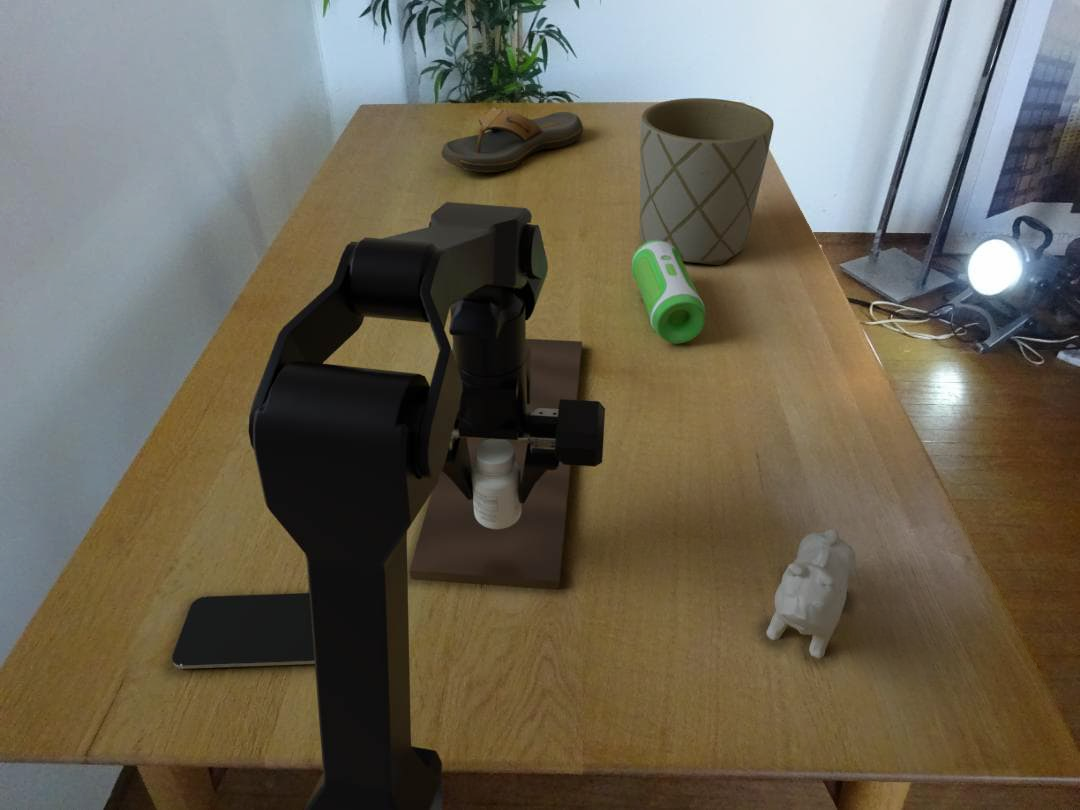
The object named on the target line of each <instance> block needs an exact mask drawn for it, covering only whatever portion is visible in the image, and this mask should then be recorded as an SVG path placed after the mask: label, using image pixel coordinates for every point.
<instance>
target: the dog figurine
mask: <svg viewBox="0 0 1080 810" xmlns="http://www.w3.org/2000/svg"><path fill="white" fill-rule="evenodd" d="M856 568H857V556H856V553H855V550H854V548H852V546H851V545H850V544H849V543H848V542H846V541H845V540H843V539H841V538H840V535H839V530H837V529H836V528H830V529H827V530H826V531H823V532H822V531H817V532H810V533H809V534H807V535H806V536H804V537H803V539H802V540H801V541H800V544H799V546H798V550H797V553H796V559H795V560H794V561H793V563H789V565H787V568H786V570H785V571H784V573H783V575H782V578H781V583H780V584H779V585H778V587H777V589H776V592H775V594H774V608H775V612H774V614H773V616H772V618H771V620H770V623H769V625H768V627H767V629H766V636H767V637H768V638H769V639H770V640H772V641H778V640H779V639H781V637H782V635H783V633H784V632H785V631H786V630H787V628H788V626H790V627H792V628H793V629H795V630H797V631H798V633H799V634H800V635H804V636H807V635H809V636H812V639H811V641H810V644H809V649H808V651H809V655H810V656H812V657H813V658H816V659H821V658H823V657H824V656H825V652H826V649H827V647H828V644H829V642H830V641H829V640H830V639H831V637H832V636H833V633H834V632H835V629H836V628H837V625H838V623H839V621H840V619H841V617H842V613H843V609H844V607H845V603H846V600H847V592H848V589H849V585H850V582H851V579H852V578H853V577H854V575H855V573H856V571H857V570H856Z"/></svg>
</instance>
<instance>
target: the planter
mask: <svg viewBox="0 0 1080 810" xmlns="http://www.w3.org/2000/svg"><path fill="white" fill-rule="evenodd" d="M774 126H775V123H774V119H773V118H772V117H771V116H770V115H769V114H768V113H767V112H765V111H764V110H761V109H760V108H758V107H755V106H753V105H749V104H746V103H743V102H738V101H734V100H729V99H720V98H710V97H709V98H707V97H687V98H677V99H671V100H665V101H661V102H658V103H656V104H653V105H651V106H649V107H648V108H646V109H645V110H644V111H643V112H642V114H641V117H640V149H639V151H640V153H639V154H640V156H639V158H640V159H639V160H640V161H639V165H640V166H639V177H640V178H639V238H640V240H641V242H642V244H644V243H646V242H648V241H651V240H662V241H665V242H667V243H669V244H671V245H672V246H674V247H675V248H676V249H677V250H678V252H679V253H680V255H681V258H682V262H683V263H684V262H686V263H693V264H702V265H703V264H705V265H715V266H722V265H725V263H726V262H727V261H729V259H730V258H732V257H734V256H735V255H737V254H738V253H740V252H741V251H743V249H745V247H746V245H747V241H748V238H749V234H750V229H751V225H752V221H753V216H754V212H755V209H756V204H757V199H758V195H759V192H760V188H761V183H762V178H763V175H764V170H765V167H766V162H767V157H768V155H769V154H768V153H769V149H770V144H771V141H772V136H773V131H774Z"/></svg>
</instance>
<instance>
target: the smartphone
mask: <svg viewBox="0 0 1080 810" xmlns="http://www.w3.org/2000/svg"><path fill="white" fill-rule="evenodd" d="M171 660H172V663H173V664H174V666H175V667H176V668H178V669H182V670H186V669H188V670H189V669H211V668H212V669H213V668H241V667H243V668H245V667H268V666H270V667H271V666H272V667H273V666H291V665H292V666H295V665H296V666H297V665H315V660H314V647H313V634H312V621H311V608H310V596H309V592H301V593H300V592H299V593H298V592H297V593H272V594H271V593H270V594H269V593H268V594H241V595H240V594H238V595H214V596H213V595H212V596H211V595H209V596H207V595H206V596H201V597H199V598H196V599H195V600H193V602H192V603H191V604H190V606H189V609H188V612H187V615H186V618H185V620H184V622H183V625H182V628H181V631H180V633H179V636H178V639H177V641H176V644H175V647H174V649H173V653H172V656H171Z"/></svg>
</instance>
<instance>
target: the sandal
mask: <svg viewBox="0 0 1080 810" xmlns="http://www.w3.org/2000/svg"><path fill="white" fill-rule="evenodd" d="M484 112H485V114H483V115H481V116H480V117H478V122H479V124H480V127H479V132H478V134H474V135H469V136H464V137H460V138H459V137H458V138H457V139H453V140H450V141H447V142H445V143H444V144H443V146H442V149H441V156H442V158H443V159H444V160H445V161H446V162H447V163H449V164H451V165H453V166H456V167H457V168H460V169H463V170H466V171H470V172H476V173H498V172H503V171H507V170H511V169H514V168H516V167H517V166H518V165H520V164H521V162H522V161H524V160H525V158H527V157H528V156H530V155H531V154H534V153H535V152H538V151H542V150H545V149H546V150H549V149H558V148H562V147H566V146H568V145H571V144H572V143H574V142H576V141H577V140H579V139H581V137H582V135H583V133H584V126H583V123H582V119H581V118H580V117H579V116H578V115H577V114H575V113H573V112H569V111H558V112H553V113H551V114H548V115H545V116H541V117H538V118H537V117H536V118H530V119H529V118H527V117H526V116H524V115H522V114H519V113H516V112H513V111H509V110H504V109H500V108H498V107H496V106H495V107H493V108H492V109H490V110H489V111H488V110H485V111H484Z"/></svg>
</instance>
